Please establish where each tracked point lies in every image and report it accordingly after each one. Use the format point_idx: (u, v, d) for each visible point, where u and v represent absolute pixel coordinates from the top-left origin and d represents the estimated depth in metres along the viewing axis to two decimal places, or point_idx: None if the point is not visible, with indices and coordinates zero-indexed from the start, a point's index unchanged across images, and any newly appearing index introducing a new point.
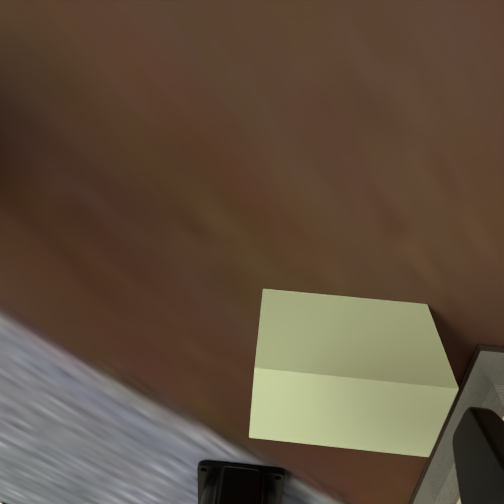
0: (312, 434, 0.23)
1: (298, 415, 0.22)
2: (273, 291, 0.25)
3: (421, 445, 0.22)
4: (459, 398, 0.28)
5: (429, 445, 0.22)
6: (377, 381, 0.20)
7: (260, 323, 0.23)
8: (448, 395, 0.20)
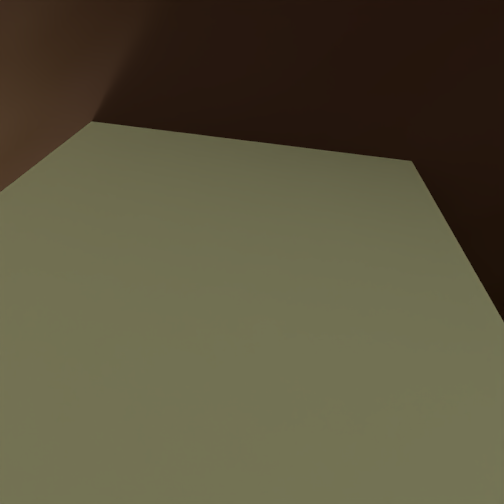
0: None
1: None
2: None
3: None
4: None
5: None
6: None
7: None
8: None
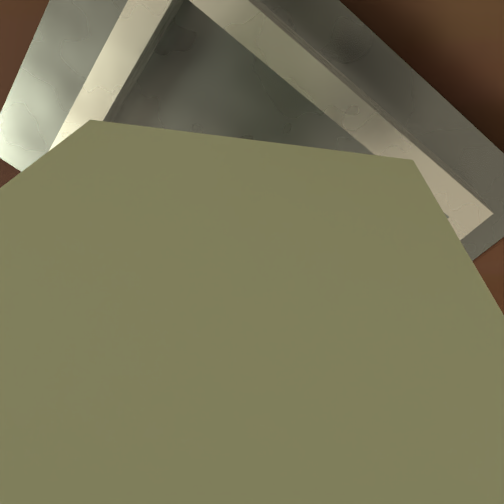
0: None
1: None
2: None
3: None
4: None
5: None
6: None
7: None
8: None
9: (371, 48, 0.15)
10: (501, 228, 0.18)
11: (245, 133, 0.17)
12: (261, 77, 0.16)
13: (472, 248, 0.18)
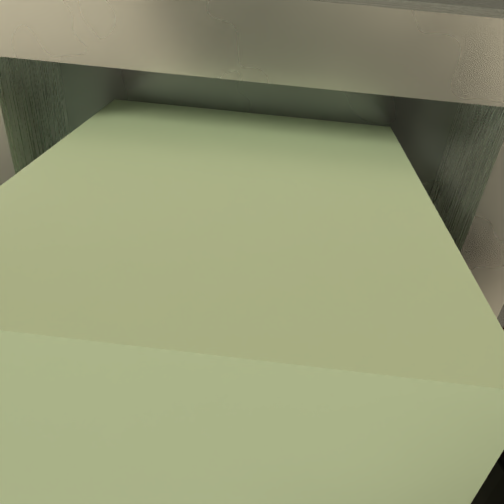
0: None
1: None
2: None
3: (393, 432, 0.04)
4: None
5: (397, 396, 0.03)
6: None
7: None
8: None
9: None
10: None
11: None
12: None
13: None
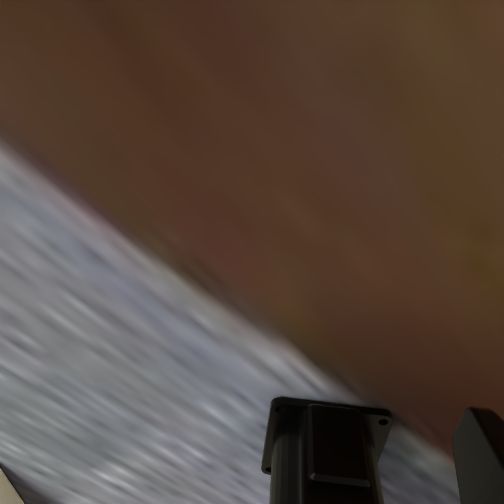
0: None
1: None
2: None
3: None
4: None
5: None
6: None
7: None
8: None
9: None
10: None
11: None
12: None
13: None
